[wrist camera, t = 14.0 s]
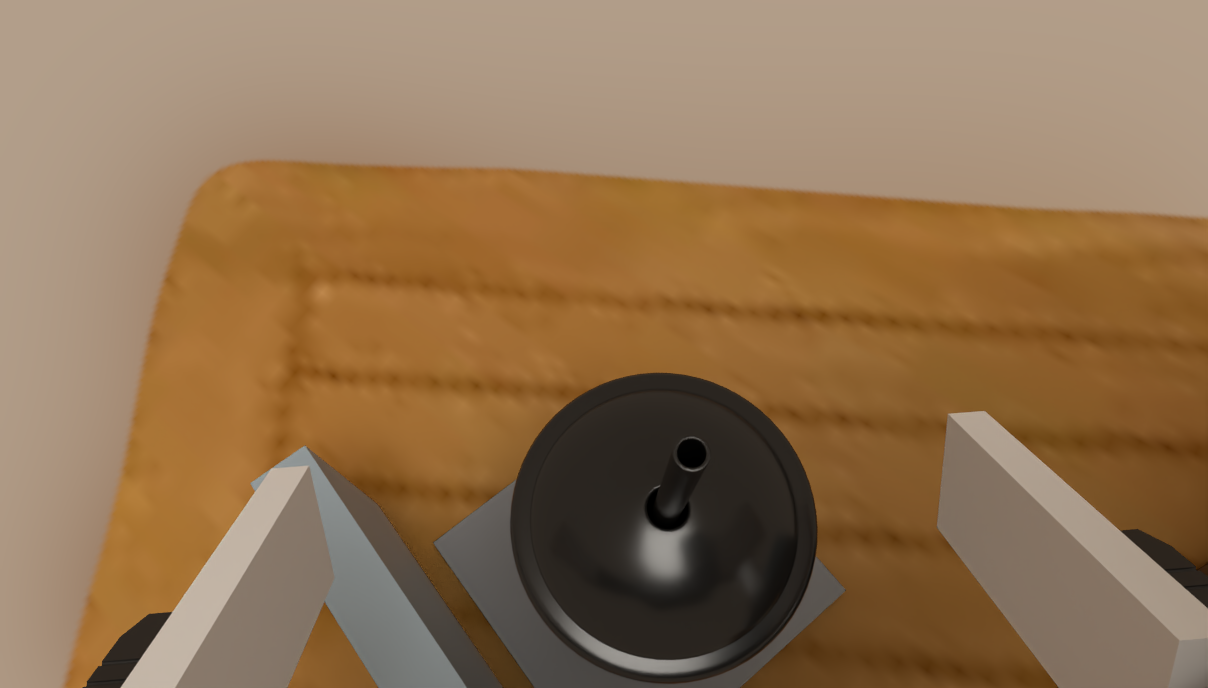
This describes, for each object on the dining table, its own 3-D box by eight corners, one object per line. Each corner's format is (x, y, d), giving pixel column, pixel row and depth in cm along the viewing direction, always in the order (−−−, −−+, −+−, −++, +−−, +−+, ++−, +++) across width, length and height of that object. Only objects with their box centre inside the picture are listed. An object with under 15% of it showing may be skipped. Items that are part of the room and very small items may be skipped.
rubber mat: (654, 378, 36) (654, 374, 36) (842, 592, 33) (846, 590, 32) (435, 545, 34) (433, 542, 33) (614, 800, 30) (614, 802, 29)
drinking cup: (512, 537, 33) (400, 371, 14) (671, 449, 34) (756, 196, 16) (601, 715, 30) (605, 793, 12) (768, 613, 32) (1006, 541, 13)
